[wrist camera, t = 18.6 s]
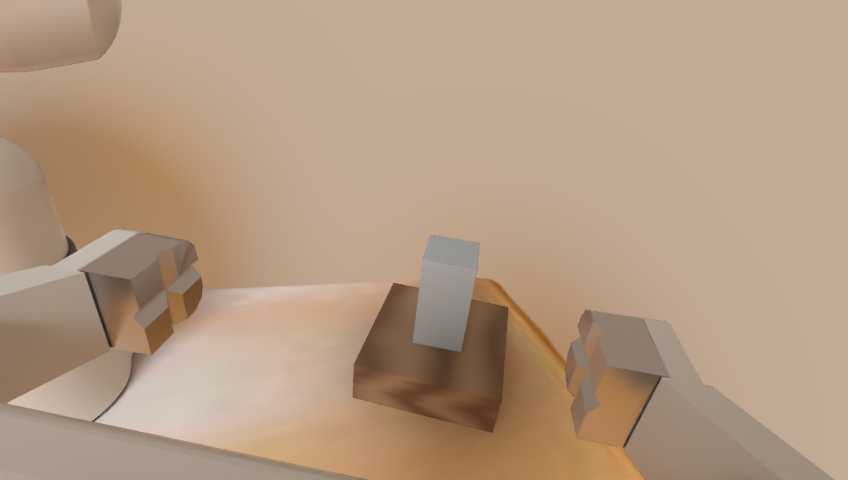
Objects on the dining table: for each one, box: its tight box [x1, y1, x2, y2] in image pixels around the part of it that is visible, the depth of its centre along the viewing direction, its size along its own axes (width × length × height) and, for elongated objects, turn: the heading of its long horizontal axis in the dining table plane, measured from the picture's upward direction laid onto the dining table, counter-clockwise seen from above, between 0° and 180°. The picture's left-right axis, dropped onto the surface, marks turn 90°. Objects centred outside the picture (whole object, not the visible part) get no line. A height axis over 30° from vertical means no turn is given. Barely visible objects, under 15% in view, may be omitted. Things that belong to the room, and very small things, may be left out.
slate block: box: [413, 235, 479, 352], centre depth 44 cm, size 5×5×10 cm
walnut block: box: [353, 283, 508, 432], centre depth 48 cm, size 14×14×5 cm
